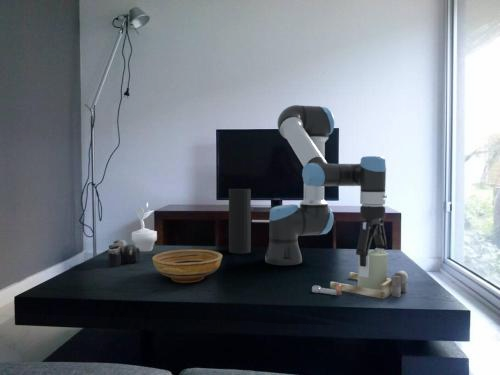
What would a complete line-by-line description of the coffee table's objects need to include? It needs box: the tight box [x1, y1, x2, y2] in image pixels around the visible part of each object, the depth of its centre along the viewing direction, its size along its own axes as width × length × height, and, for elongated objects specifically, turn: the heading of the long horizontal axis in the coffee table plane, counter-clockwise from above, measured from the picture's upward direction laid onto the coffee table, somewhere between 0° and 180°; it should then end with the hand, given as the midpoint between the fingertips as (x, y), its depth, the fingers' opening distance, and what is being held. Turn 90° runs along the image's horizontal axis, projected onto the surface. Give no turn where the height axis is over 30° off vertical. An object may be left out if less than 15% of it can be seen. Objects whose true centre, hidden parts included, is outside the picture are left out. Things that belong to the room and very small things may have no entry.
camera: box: [107, 239, 141, 268], centre depth 151 cm, size 16×10×10 cm, turn 1°
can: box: [356, 249, 389, 291], centre depth 118 cm, size 9×9×12 cm
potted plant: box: [131, 201, 158, 253], centre depth 175 cm, size 13×12×25 cm
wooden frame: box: [329, 270, 409, 300], centre depth 118 cm, size 21×16×7 cm
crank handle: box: [311, 284, 343, 296], centre depth 113 cm, size 9×2×3 cm, turn 62°
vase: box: [228, 188, 252, 255], centre depth 174 cm, size 10×10×30 cm
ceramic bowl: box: [151, 249, 223, 284], centre depth 130 cm, size 30×24×8 cm
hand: (372, 272), depth 118 cm, fingers open, 13 cm apart
